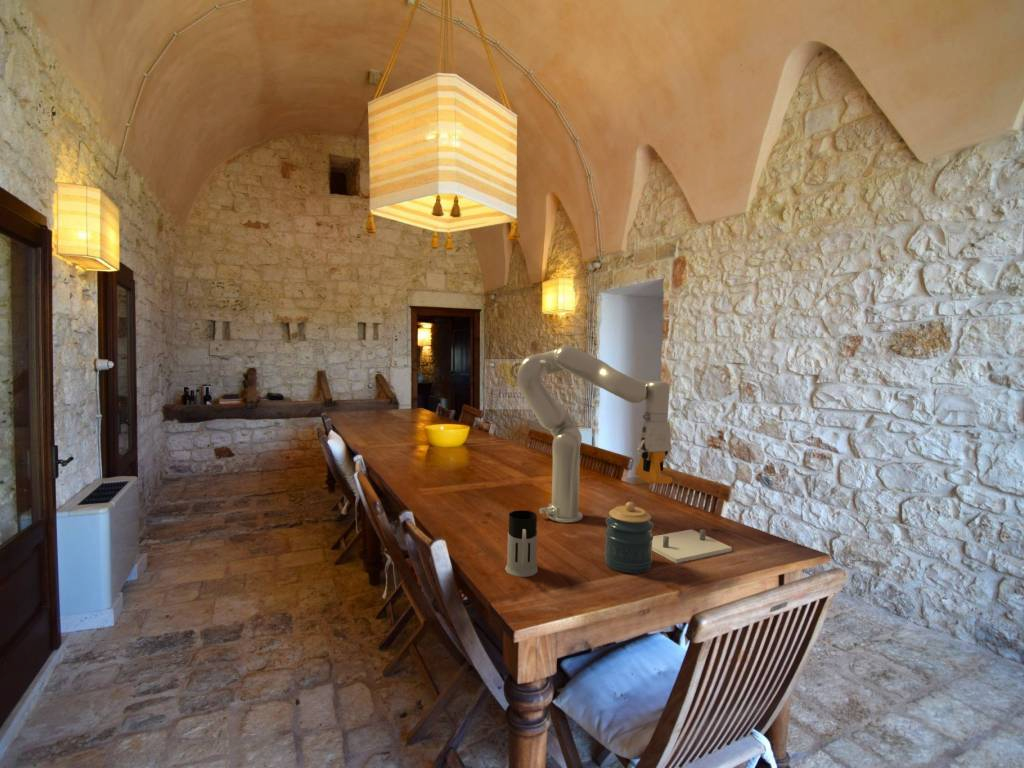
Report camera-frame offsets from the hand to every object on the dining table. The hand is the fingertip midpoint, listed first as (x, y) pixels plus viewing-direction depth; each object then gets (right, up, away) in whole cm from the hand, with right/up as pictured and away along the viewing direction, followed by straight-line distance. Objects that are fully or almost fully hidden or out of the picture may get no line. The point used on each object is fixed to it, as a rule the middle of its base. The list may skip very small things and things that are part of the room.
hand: (653, 470), depth 167 cm
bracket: (0, -4, 0) cm, 4 cm away
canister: (-16, -21, -31) cm, 40 cm away
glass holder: (-46, -21, -38) cm, 63 cm away
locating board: (+5, -20, -18) cm, 27 cm away
